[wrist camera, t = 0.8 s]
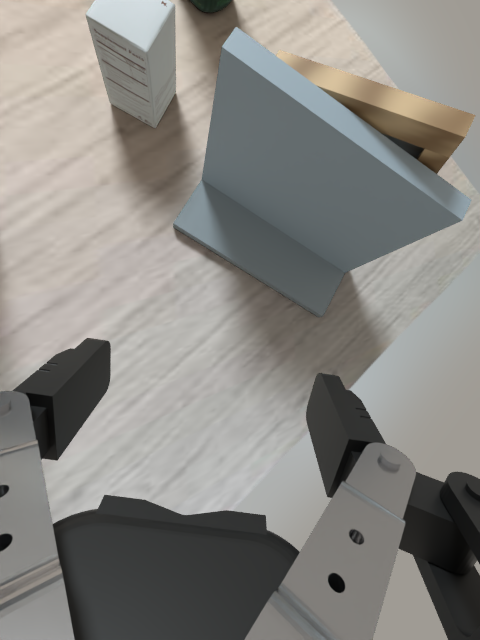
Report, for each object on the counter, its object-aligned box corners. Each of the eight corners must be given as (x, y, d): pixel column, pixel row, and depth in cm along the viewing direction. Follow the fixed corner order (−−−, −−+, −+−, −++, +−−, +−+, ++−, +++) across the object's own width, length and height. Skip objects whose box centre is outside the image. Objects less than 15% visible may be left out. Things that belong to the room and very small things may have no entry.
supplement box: (132, 65, 46) (116, -37, 34) (177, 92, 47) (177, 3, 35) (108, 104, 45) (82, 12, 33) (155, 130, 46) (147, 51, 34)
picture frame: (265, 179, 43) (267, 68, 28) (273, 166, 43) (279, 49, 29) (390, 232, 40) (465, 137, 25) (398, 217, 40) (475, 115, 25)
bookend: (173, 227, 45) (171, 119, 24) (208, 172, 47) (236, 26, 26) (318, 317, 49) (430, 292, 27) (346, 262, 51) (471, 199, 29)
